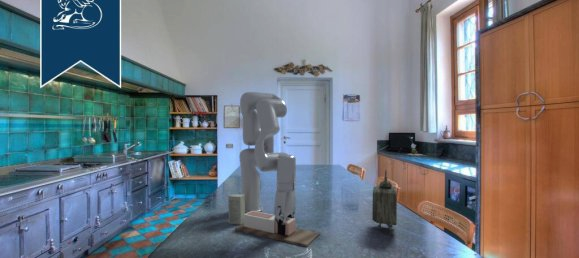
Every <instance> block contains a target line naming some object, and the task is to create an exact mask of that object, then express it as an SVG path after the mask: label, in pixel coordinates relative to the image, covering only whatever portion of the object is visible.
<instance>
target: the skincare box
mask: <svg viewBox="0 0 579 258" xmlns="http://www.w3.org/2000/svg"><path fill="white" fill-rule="evenodd" d="M227 197H228V199H227V200H228V202H227V203H228V208H227V209H228V224H232V225H233V224H234V225H239V226H240V225H242V224H244V214H245V195H241V193H239V194H238V193H232V194H229V195H228V196H227Z"/></svg>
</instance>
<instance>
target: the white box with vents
mask: <svg viewBox="0 0 579 258" xmlns="http://www.w3.org/2000/svg"><path fill="white" fill-rule="evenodd" d="M274 217H275V215H274V213H271V214H270V213H265V212H262V211H261V212H257V211H250V212H248V213H246V214H244V223H243V224H244V227H248V228H253V229H257V230H262V231H266V232H270V233H275V221H276V220H275V218H274ZM280 218H281V217H280Z"/></svg>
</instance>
